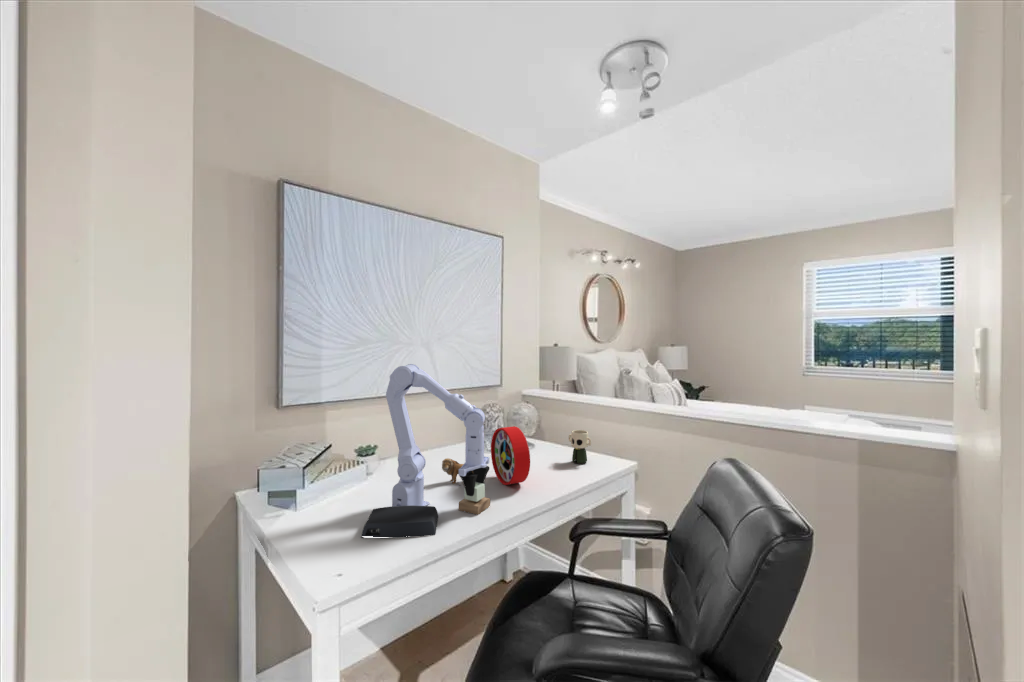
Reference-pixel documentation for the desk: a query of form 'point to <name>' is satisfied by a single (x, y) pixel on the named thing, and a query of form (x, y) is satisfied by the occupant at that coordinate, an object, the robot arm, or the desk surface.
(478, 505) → the base brick
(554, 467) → the desk surface
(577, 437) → the character mug
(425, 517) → the external hard drive
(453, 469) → the lion figurine
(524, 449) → the toy clock
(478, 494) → the sage brick
